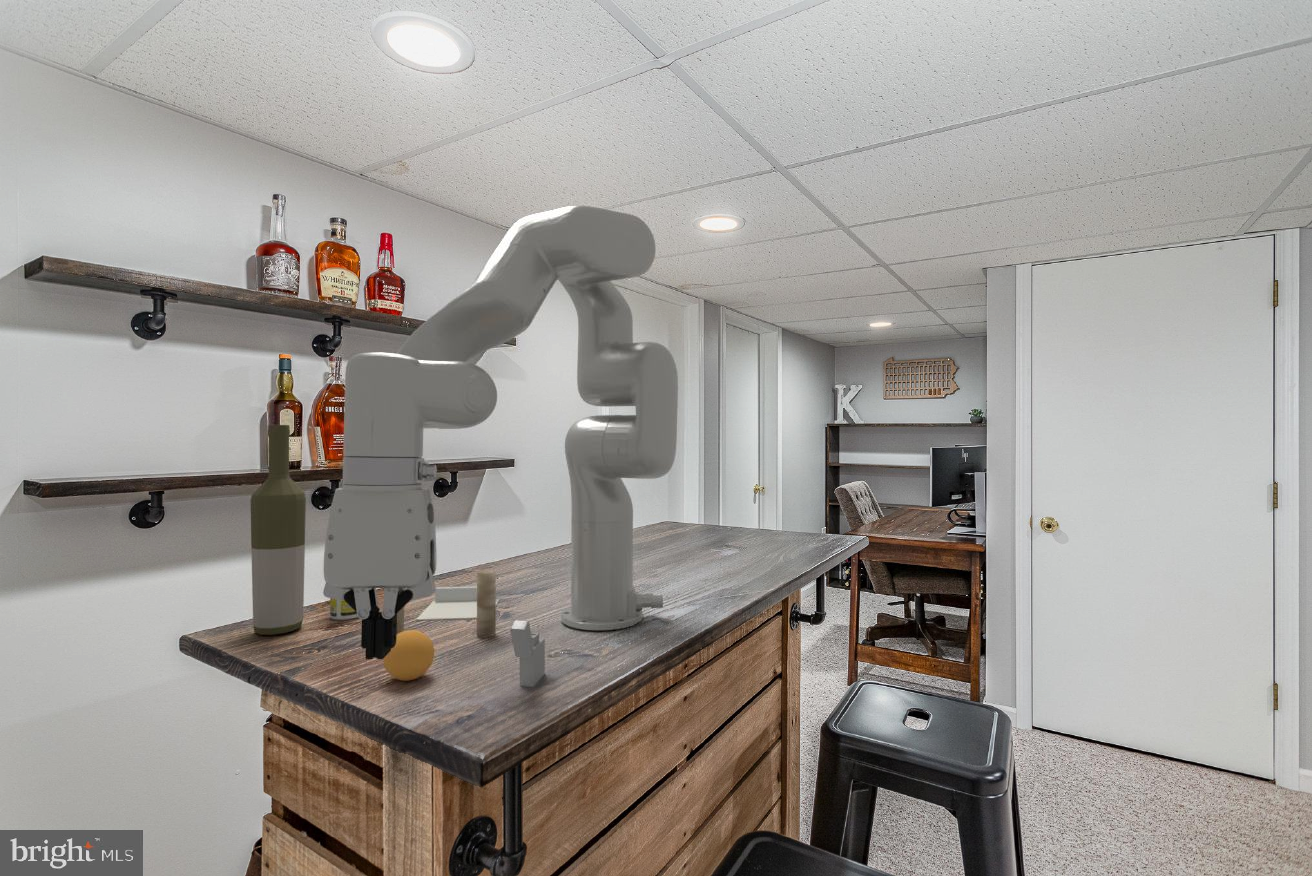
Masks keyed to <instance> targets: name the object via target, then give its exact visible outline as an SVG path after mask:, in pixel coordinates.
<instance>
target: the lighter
mask: <svg viewBox="0 0 1312 876" xmlns="http://www.w3.org/2000/svg"><path fill="white" fill-rule="evenodd" d="M530 626H531V625H530V621H528V620H517V619H516V620H514V621H513V623H512V625H511V627H510V629H509V631H510V636H511V637H510V638H511V641H512V647H513V650H514V652H513V653H514V656H515V657H516V658H519V686H520V687H531V688H533V687H535V686H536V685H537V684H538V683H539V682H540V680H541V679H542V678H543V677H544V676H545V674H546V671H545V670H546V668H545V667H546V664H545V663H546V661H545V660H546V654H545V653H546V647H545V645H546V642H545V641H546V638H545V637H540V632H536V631H535V632H532V631H531V627H530Z"/></svg>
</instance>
